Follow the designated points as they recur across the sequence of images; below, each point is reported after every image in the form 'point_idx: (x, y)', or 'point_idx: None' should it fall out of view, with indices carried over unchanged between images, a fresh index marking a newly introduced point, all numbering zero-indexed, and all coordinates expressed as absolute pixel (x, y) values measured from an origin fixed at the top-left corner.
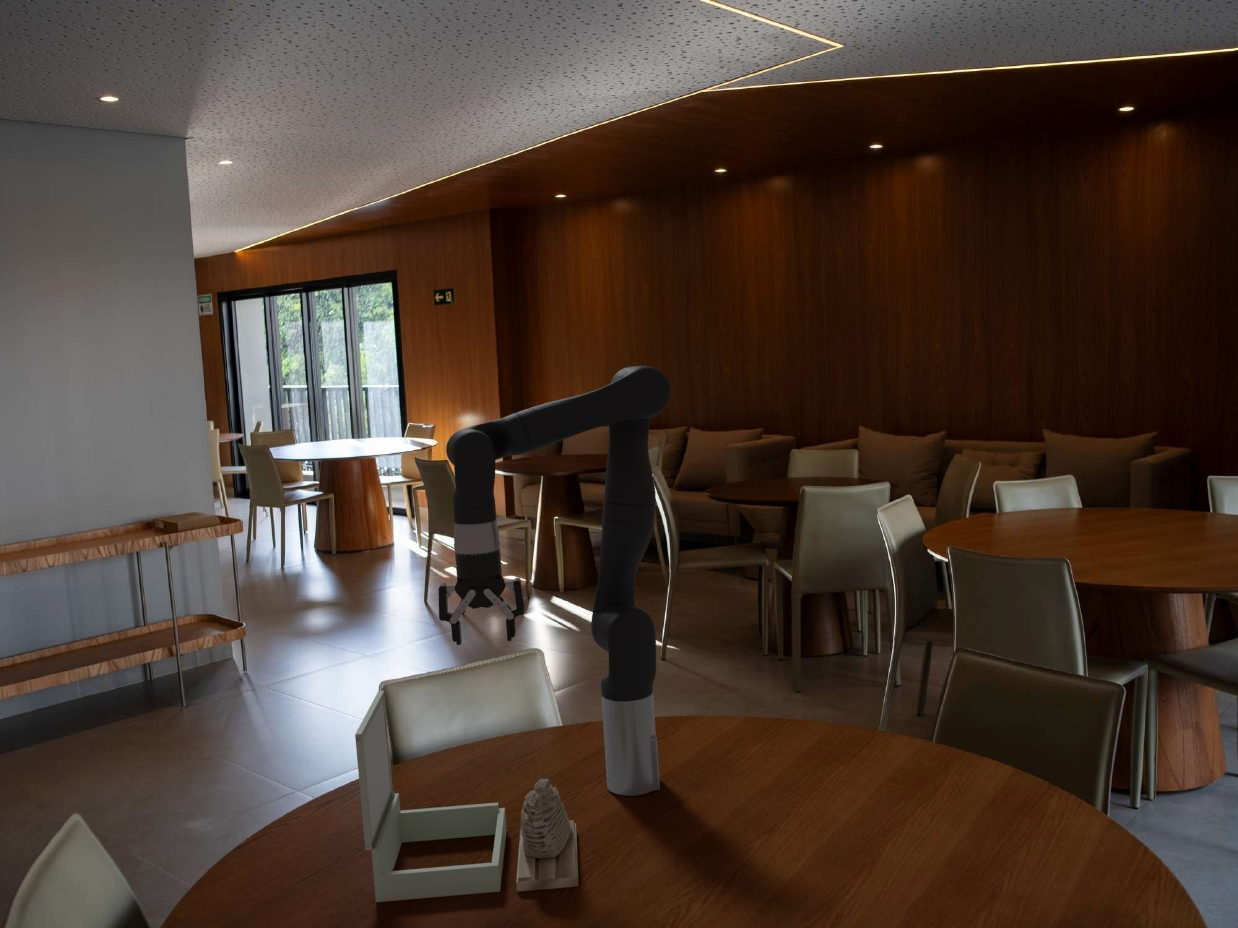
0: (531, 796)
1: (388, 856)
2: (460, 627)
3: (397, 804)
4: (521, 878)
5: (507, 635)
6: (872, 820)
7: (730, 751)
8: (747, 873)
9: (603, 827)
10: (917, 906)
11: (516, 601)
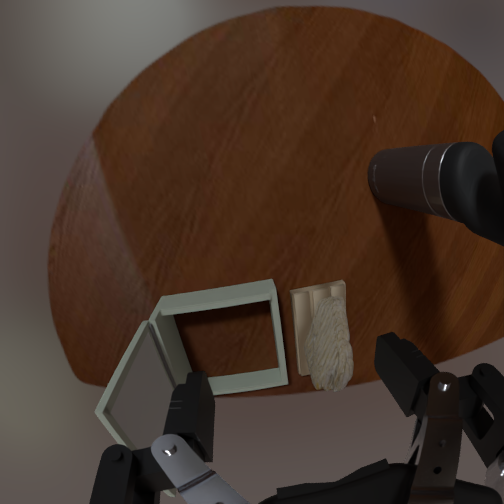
0: (328, 380)
1: (184, 368)
2: (201, 417)
3: (160, 327)
4: (303, 375)
5: (383, 380)
6: (500, 255)
7: (455, 116)
8: (438, 327)
9: (365, 270)
10: (479, 341)
11: (476, 446)
